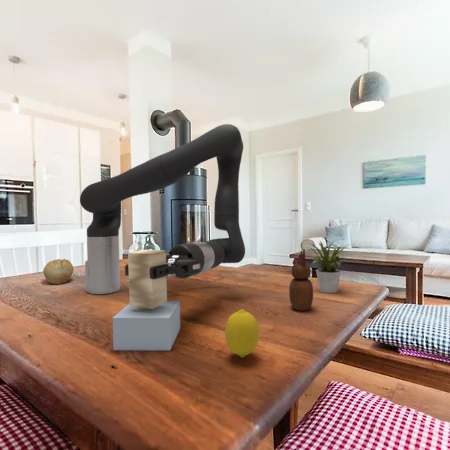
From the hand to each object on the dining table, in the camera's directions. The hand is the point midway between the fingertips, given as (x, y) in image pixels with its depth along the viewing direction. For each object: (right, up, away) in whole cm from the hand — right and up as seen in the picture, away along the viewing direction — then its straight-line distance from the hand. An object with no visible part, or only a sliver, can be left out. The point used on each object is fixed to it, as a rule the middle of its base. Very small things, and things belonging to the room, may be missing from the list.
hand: (138, 272), depth 55 cm
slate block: (+1, -13, +3) cm, 14 cm away
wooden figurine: (+35, -12, +20) cm, 42 cm away
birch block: (+1, -6, +2) cm, 7 cm away
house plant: (+46, -12, +37) cm, 60 cm away
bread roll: (-45, -12, +55) cm, 72 cm away
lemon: (+19, -13, -5) cm, 24 cm away
